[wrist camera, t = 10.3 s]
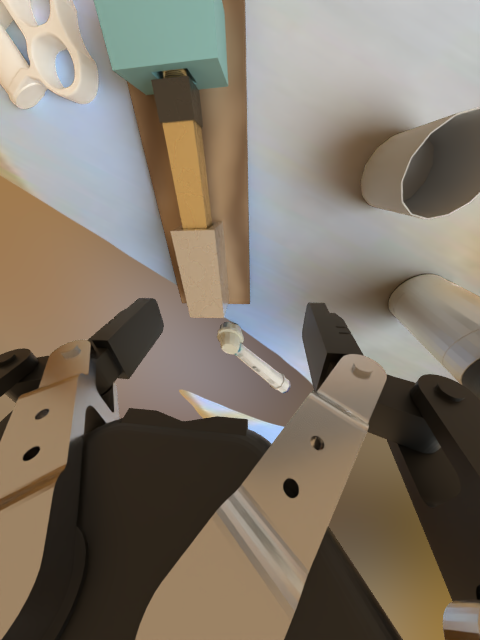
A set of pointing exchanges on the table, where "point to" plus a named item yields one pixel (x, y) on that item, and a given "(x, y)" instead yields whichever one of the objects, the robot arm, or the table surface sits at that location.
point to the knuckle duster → (44, 54)
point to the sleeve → (203, 269)
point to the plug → (184, 145)
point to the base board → (210, 158)
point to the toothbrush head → (250, 356)
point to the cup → (427, 168)
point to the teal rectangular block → (165, 40)
